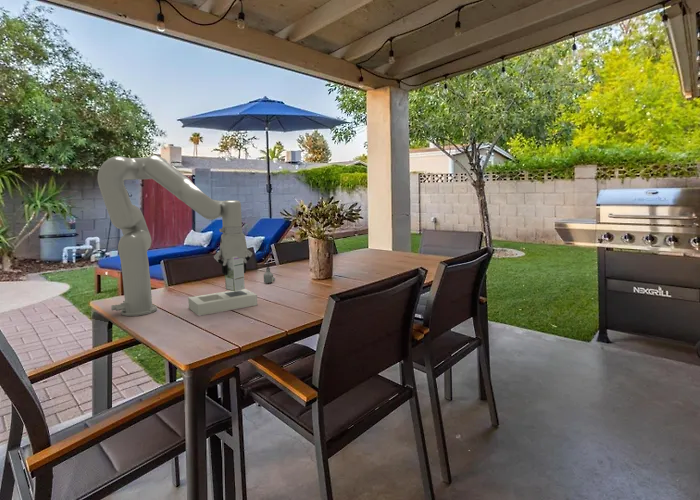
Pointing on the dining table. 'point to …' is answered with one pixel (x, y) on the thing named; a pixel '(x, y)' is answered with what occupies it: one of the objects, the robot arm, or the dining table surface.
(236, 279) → the syrup box
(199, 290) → the dining table surface
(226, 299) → the caddy
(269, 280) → the reed diffuser
